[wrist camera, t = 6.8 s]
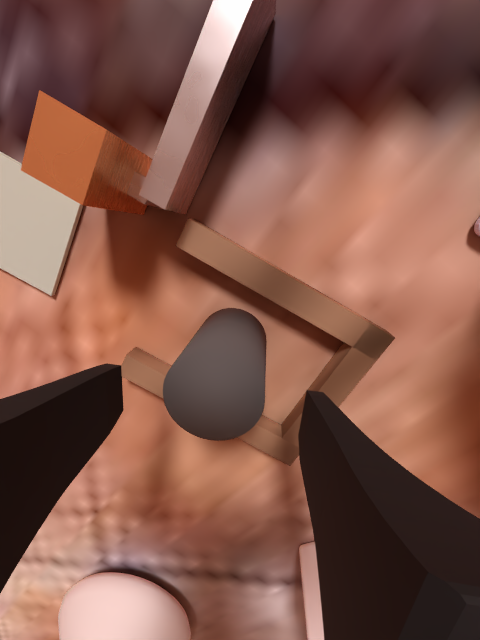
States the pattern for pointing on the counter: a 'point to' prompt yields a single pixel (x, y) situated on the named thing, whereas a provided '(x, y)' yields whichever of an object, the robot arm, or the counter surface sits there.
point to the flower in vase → (121, 610)
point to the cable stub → (219, 377)
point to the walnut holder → (297, 297)
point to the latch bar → (178, 136)
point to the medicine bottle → (311, 591)
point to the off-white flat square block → (34, 227)
